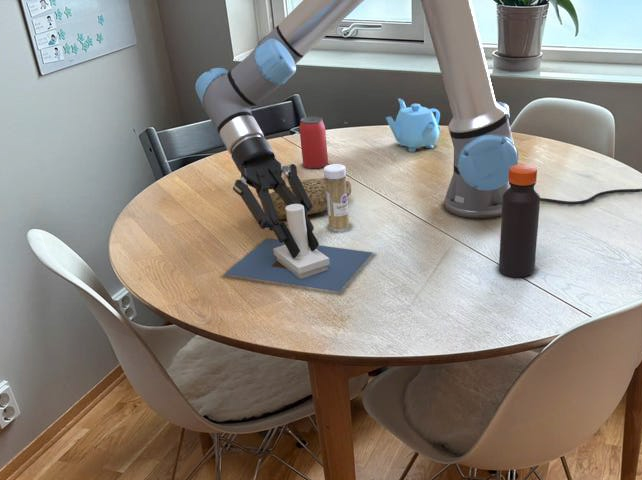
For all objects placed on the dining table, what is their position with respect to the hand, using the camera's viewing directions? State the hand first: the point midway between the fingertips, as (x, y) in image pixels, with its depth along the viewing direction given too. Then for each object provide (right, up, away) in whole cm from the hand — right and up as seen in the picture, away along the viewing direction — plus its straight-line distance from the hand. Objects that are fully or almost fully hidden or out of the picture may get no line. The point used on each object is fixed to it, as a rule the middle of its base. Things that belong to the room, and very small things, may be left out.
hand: (305, 251), depth 138 cm
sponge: (-3, +13, +28) cm, 31 cm away
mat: (-2, -2, +5) cm, 6 cm away
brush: (-1, -2, +4) cm, 4 cm away
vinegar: (+40, -4, +2) cm, 40 cm away
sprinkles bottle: (+4, +8, +20) cm, 22 cm away
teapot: (+20, +39, +65) cm, 78 cm away
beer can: (-5, +30, +53) cm, 61 cm away
